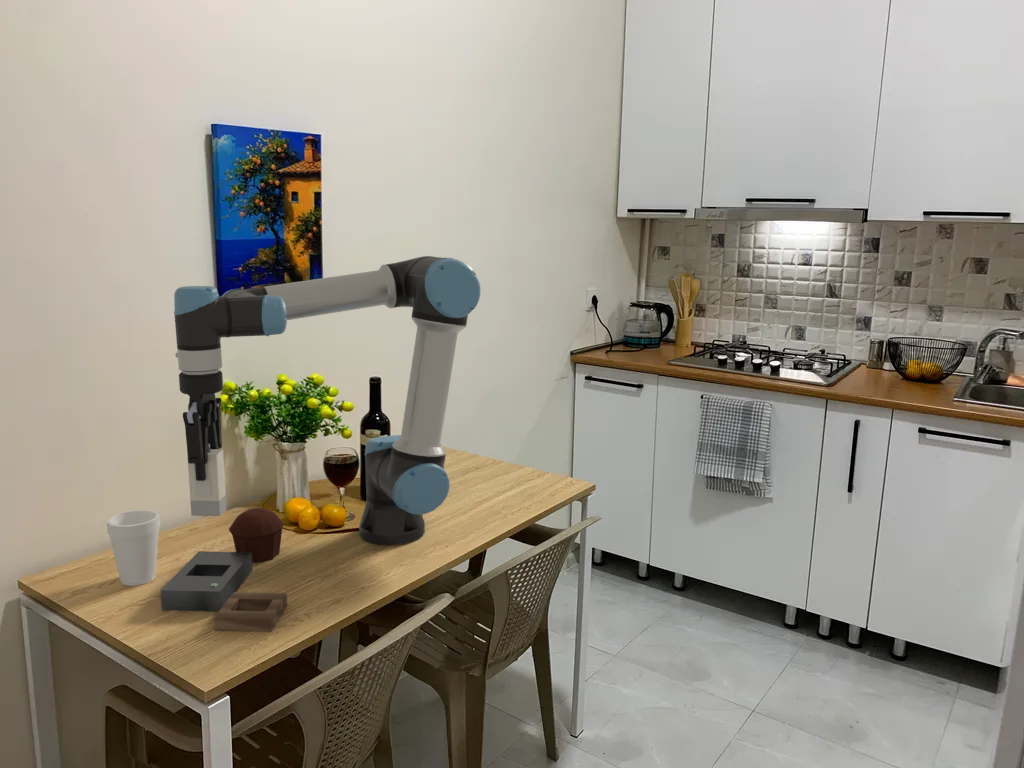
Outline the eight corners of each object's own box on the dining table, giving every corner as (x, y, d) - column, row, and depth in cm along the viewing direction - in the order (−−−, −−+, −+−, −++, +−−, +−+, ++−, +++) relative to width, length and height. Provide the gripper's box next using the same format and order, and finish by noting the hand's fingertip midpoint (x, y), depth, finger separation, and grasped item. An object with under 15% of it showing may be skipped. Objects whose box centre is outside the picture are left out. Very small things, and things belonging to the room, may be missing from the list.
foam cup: (160, 586, 160) (155, 524, 157) (108, 591, 157) (103, 528, 155) (165, 566, 169) (161, 507, 166) (117, 571, 166) (111, 511, 164)
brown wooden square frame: (234, 604, 153) (233, 592, 153) (287, 605, 153) (286, 593, 153) (214, 630, 143) (214, 617, 143) (271, 631, 143) (270, 618, 143)
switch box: (199, 569, 168) (198, 550, 167) (252, 570, 168) (251, 551, 167) (161, 610, 150) (160, 589, 150) (220, 611, 150) (219, 590, 149)
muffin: (238, 544, 181) (235, 502, 179) (288, 543, 182) (287, 501, 180) (224, 567, 169) (222, 521, 167) (278, 565, 171) (277, 520, 169)
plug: (198, 508, 156) (194, 441, 154) (226, 509, 156) (222, 441, 154) (191, 515, 153) (186, 446, 150) (220, 516, 153) (216, 447, 150)
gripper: (196, 362, 157) (204, 478, 162) (161, 379, 141) (170, 507, 146) (235, 363, 157) (241, 478, 162) (204, 379, 141) (212, 507, 146)
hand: (208, 491), depth 154 cm, fingers closed on plug, 4 cm apart
